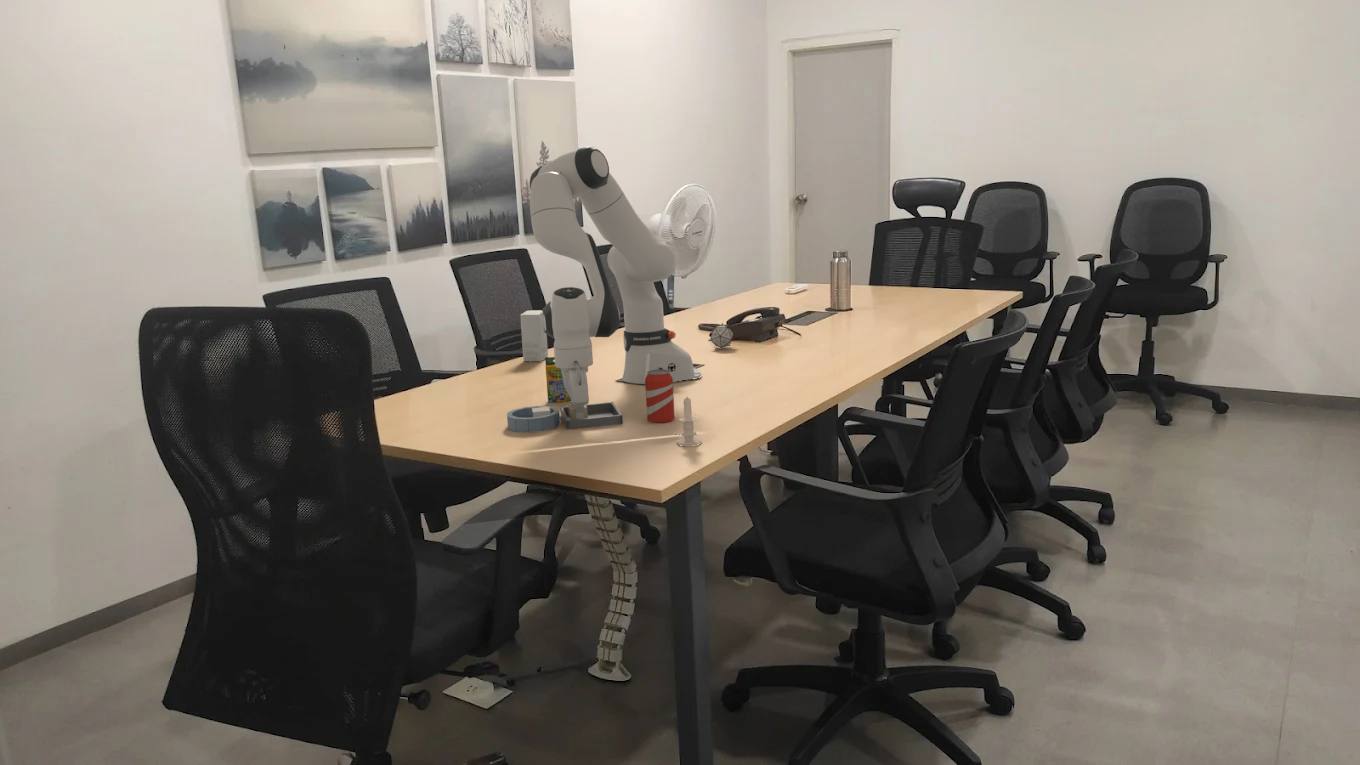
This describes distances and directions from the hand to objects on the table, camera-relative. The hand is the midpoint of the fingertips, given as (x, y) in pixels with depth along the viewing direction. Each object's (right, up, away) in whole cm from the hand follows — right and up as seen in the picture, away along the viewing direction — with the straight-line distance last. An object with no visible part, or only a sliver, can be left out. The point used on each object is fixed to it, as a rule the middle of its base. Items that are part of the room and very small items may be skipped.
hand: (577, 415), depth 221 cm
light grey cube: (-8, -2, -1) cm, 9 cm away
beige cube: (0, -1, 0) cm, 1 cm away
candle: (+26, -5, -21) cm, 34 cm away
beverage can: (+20, -2, -2) cm, 20 cm away
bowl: (-10, -3, -2) cm, 11 cm away
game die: (+38, +19, +86) cm, 96 cm away
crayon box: (-7, +3, +23) cm, 24 cm away
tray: (+3, -1, +1) cm, 4 cm away
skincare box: (-22, +15, +82) cm, 86 cm away
